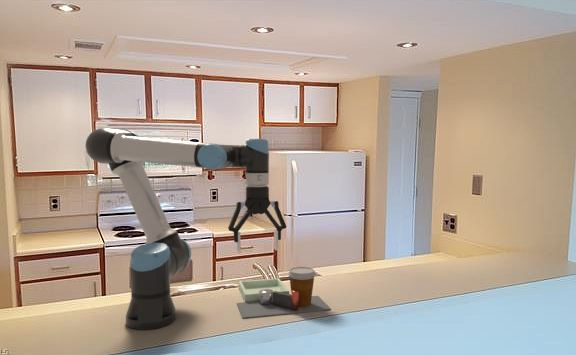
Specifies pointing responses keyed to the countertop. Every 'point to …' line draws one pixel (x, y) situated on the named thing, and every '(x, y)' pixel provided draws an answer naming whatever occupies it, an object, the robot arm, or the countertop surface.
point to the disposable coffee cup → (302, 283)
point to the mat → (278, 308)
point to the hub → (266, 297)
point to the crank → (287, 299)
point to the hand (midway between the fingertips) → (257, 250)
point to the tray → (260, 288)
